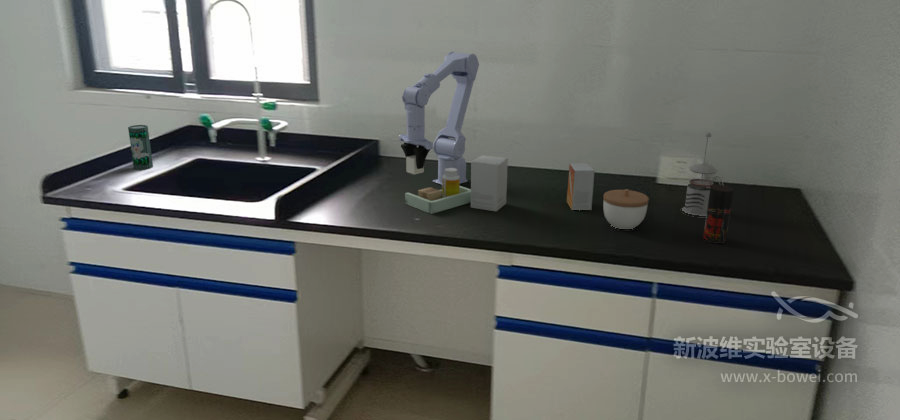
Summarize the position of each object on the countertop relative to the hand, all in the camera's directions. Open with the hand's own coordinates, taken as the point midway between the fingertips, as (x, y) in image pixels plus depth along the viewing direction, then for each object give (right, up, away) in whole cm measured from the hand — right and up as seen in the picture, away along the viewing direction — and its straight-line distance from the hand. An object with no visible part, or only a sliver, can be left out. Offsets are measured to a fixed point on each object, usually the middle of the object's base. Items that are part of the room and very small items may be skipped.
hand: (415, 166), depth 223 cm
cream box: (0, -2, 0) cm, 2 cm away
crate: (+8, -11, -4) cm, 14 cm away
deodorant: (+84, -22, -31) cm, 92 cm away
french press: (+88, -15, -9) cm, 90 cm away
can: (-100, +1, +28) cm, 104 cm away
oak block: (+5, -13, -7) cm, 15 cm away
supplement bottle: (+11, -11, -2) cm, 16 cm away
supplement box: (+23, -13, -6) cm, 27 cm away
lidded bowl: (+61, -19, -21) cm, 67 cm away
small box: (+51, -13, -6) cm, 53 cm away
